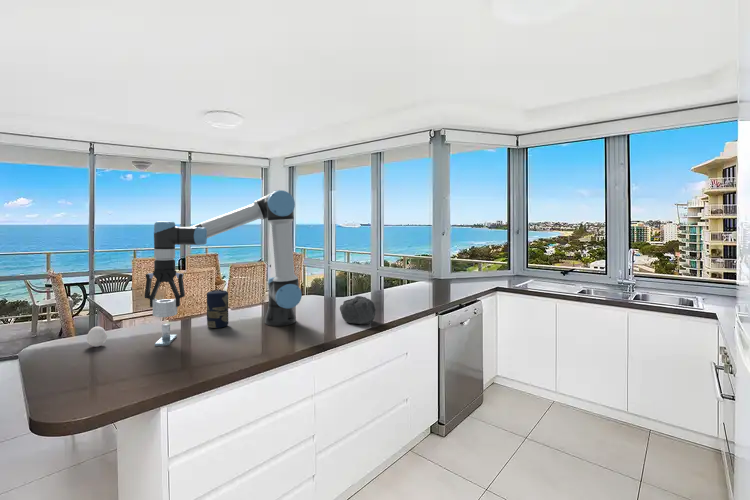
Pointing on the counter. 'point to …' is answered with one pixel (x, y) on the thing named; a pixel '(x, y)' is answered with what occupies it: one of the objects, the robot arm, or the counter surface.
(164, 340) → the shaft stand
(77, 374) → the counter surface
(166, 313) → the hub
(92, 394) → the counter surface
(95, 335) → the egg
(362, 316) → the rock
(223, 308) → the canister
